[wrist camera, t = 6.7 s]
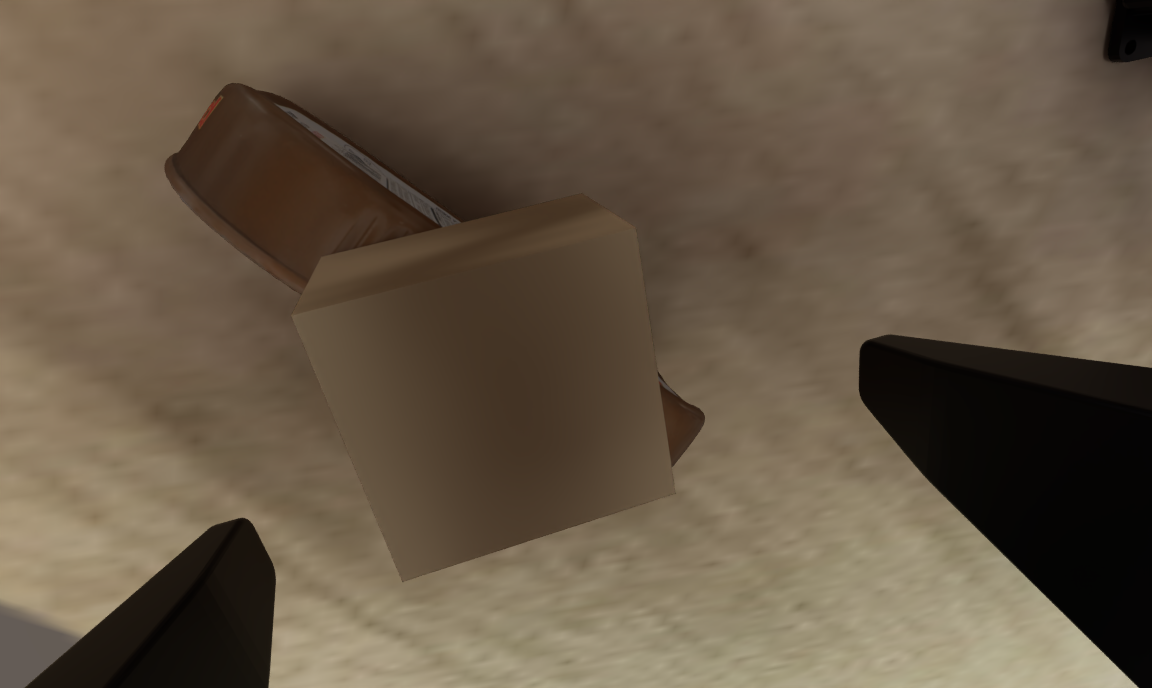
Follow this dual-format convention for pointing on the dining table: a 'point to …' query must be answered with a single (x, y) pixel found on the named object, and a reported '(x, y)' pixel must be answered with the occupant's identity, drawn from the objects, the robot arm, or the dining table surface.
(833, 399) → the dining table surface
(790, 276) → the dining table surface
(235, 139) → the tin
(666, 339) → the dining table surface
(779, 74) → the dining table surface
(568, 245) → the oak block
